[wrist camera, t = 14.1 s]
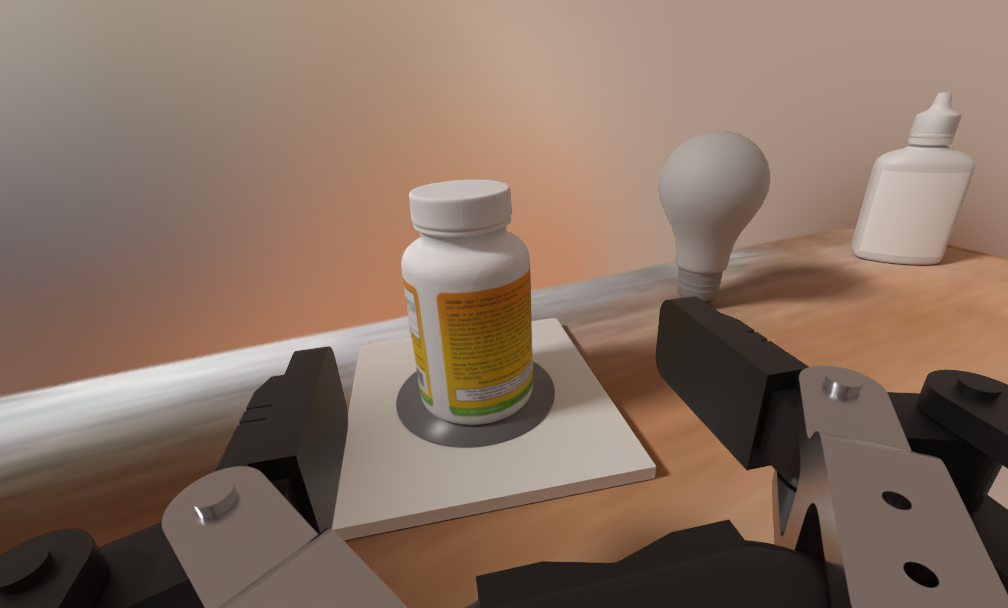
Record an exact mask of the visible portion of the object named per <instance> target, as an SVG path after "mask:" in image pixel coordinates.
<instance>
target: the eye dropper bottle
mask: <svg viewBox="0 0 1008 608" xmlns="http://www.w3.org/2000/svg"><path fill="white" fill-rule="evenodd" d="M951 100H952V93H951V92H946V93H939V94H938V95H937V97H936V99H935V101H934V103H933V105H932V106H931V107H930V108H929V109H928V110H927V111H925V112H922V113H919V114H917V115H916V117H915V120H914V123H913V127H912V130H911V133H910V137H909V140H908V143H910V144H912V145H909V146H907V147H906V148H902V149H898V150H894V151H891V152H888V153H886V154H883V155H882V156H880V157H879V158H878V159H877V160H876V162H875V164H874V166H873V170H872V173H871V176H870V179H869V183H868V187H867V190H866V193H865V197H864V201H863V204H862V208H861V211H860V215H859V219H858V222H857V226H856V229H855V233H854V237H853V240H852V244H851V248H852V251H853V253H854V255H856V256H857V257H859V258H863V259H867V260H873V261H879V262H886V263H895V264H908V265H932V264H937V263H939V262H940V261H941V260H942V258H943V256H944V253H945V250H946V248H947V245H948V242H949V239H950V237H951V233H952V231H953V229H954V226H955V223H956V220H957V218H958V215H959V212H960V209H961V207H962V204H963V201H964V198H965V195H966V193H967V190H968V187H969V184H970V181H971V178H972V175H973V173H974V169H975V162H974V160H973V159H972V158H971V157H970V156H968V155H967V154H965V153H962V152H959V151H956V150H953V149H950V147H949V146H946V145H949V144H952V142H953V139H954V136H955V133H956V130H957V127H958V124H959V121H960V118H961V114H959V113H957V112H955V111H953V109H952V108H951Z"/></svg>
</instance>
